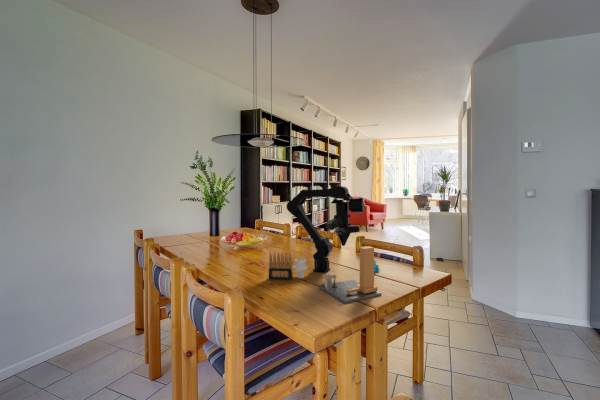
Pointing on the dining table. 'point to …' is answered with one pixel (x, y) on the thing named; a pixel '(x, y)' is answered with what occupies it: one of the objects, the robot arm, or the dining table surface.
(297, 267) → the pipe fitting
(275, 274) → the ammunition clip
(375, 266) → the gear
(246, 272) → the dining table surface
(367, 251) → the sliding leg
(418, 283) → the dining table surface
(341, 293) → the plate
